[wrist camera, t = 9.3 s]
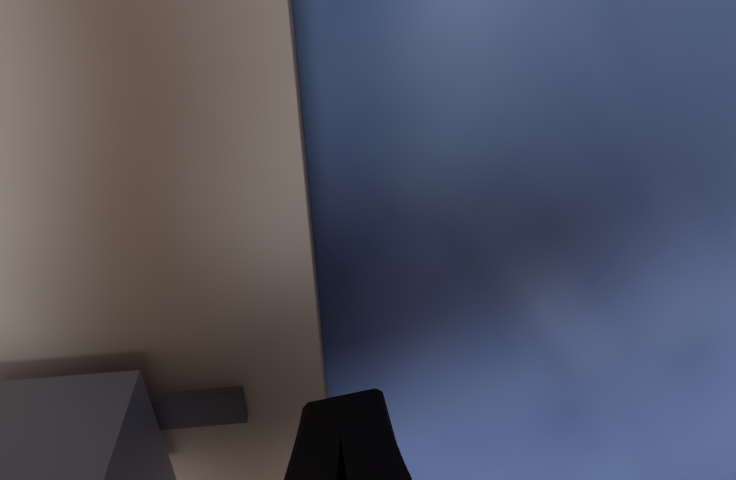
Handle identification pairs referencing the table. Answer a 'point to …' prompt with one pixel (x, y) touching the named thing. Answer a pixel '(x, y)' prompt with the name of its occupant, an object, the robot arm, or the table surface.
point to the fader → (81, 429)
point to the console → (163, 217)
